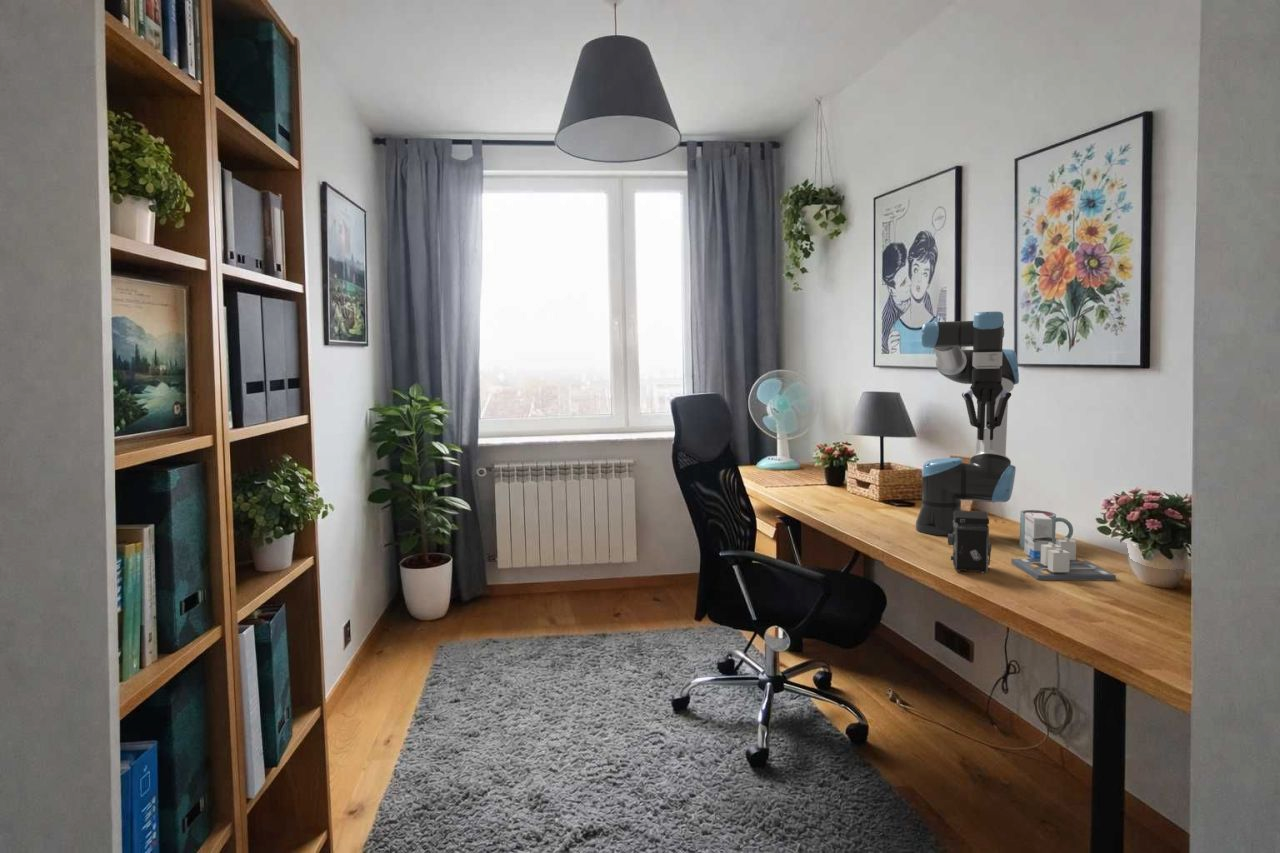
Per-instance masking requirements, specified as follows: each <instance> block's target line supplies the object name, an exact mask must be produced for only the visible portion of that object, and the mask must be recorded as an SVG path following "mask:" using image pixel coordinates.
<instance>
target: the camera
mask: <svg viewBox="0 0 1280 853" xmlns="http://www.w3.org/2000/svg"><path fill="white" fill-rule="evenodd" d="M953 516H954V520H953V527H954V532H953V533H952V534H948V535H947V545H948V546H952V547H953V548H952V555H950V561H952V564H953V568H954V570H956V571H957V572H958V571H959V572H960V571H969V572H971V571H972V572H981V574H984V573H987V572H988V570H989V569H988V568H989V566H990V565H991V564H990V563H991V555H992V554H991V552H992V544H991V543H990V527H989V524H990V519H989V517H988V515H987V512H986V511H978V510H977V511H976V510H975V511H974V510H962V511H954V512H953Z"/></svg>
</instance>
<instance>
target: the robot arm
mask: <svg viewBox="0 0 1280 853" xmlns="http://www.w3.org/2000/svg"><path fill="white" fill-rule="evenodd" d="M1004 324H1005V321H1004V313H1003V312H1002V311H980V312H979V311H978V312H976V313H975V314H974V315H973V320H962V321H961V320H960V321H959V320H958V321H932V322H924V323H923V324H922V327H921V345H922V347H923V348H927V349H928V348H930V349H933V351H934V354H935V357H936V358H935V366H936V369H937V370H938V372H939V373H940V374H941V375H942V377H943V376H944V378H947V379H948V380H950V381H952V382H956V383H958V384H962V385H971V386H970V387H969V390H967V391H965V392H961V396H962V399H963V400H964V402H965V406H966V410H967V414H968V420H969V424H970V426H971V427H974V428H976V446H975V454H974V455H973V456H971V457H970V460H969V463H965V462H964V463H963V459H962V458H961V457H960V458H959V457H944V458H943V457H942V458H936V459H931V460H927V461H925V462H924V463H923V466H922V475H921V477H922V487H921V488H922V491H921V492H922V493H921V495H922V496H921V507H920V509H919V513H918V516H917V518H916V520H915V530H917V531H918V532H920V533H924V534H929V535H934V536H935V535H936V536H948V534H952V533H953V532H954V527H953V520H954V516H953V512H954V511H963V510H962V501H974V502H987V503H1006V502H1009V500H1011V497H1012V494H1013V489H1014V485H1015V478H1016V469H1017V468H1016V466H1015V465H1013V464H1011V463H1012V462H1011V459H1010V458H1009V457H1008V456H1007V454H1006V453H1007V435H1008V434H1007V431H1008V430H1007V428H1008V407H1009V399H1010V397H1012V393H1011V392H1012V391H1013V389H1014V387H1015V385H1018V384H1019V383H1020V382H1019V381H1020V377H1019V376H1020V375H1019V374H1020V373H1019V363H1018V357H1017V353H1016V351H1015V350H1014V349H1010V348H1009V349H1007V348H1006V349H1005V348H1003V346H1004V345H1003V344H1004V343H1003V341H1004V337H1005V328H1004ZM971 347H972V349H961V348H971ZM973 397H974V398H975V399H976V404H977V409H976V408H975V404H974V400H973ZM976 410H977V412H976Z"/></svg>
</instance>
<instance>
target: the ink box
mask: <svg viewBox="0 0 1280 853" xmlns="http://www.w3.org/2000/svg"><path fill="white" fill-rule="evenodd" d="M1048 543H1052V519H1051V518H1049V517H1048V516H1046V515H1045V514H1043V513H1025V548H1023V549H1024V551H1023V552H1024V554H1026V555H1027V556H1028V557H1030V559H1041V544H1048Z"/></svg>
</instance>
